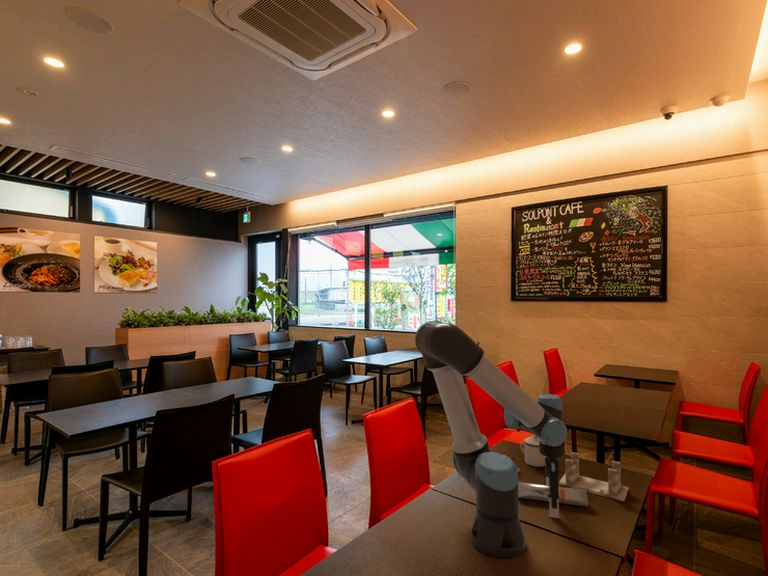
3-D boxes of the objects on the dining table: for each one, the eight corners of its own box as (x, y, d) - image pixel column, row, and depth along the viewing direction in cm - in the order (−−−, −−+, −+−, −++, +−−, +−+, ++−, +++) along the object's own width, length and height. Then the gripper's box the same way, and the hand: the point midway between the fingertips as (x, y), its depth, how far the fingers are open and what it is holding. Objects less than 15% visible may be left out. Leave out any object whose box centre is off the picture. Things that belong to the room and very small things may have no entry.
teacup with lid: (552, 464, 169) (551, 435, 169) (538, 469, 164) (537, 440, 164) (527, 454, 179) (527, 428, 179) (514, 459, 174) (513, 432, 174)
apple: (520, 475, 159) (520, 458, 159) (499, 474, 161) (499, 457, 161) (518, 467, 167) (517, 451, 167) (497, 465, 168) (497, 449, 169)
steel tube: (517, 485, 140) (517, 479, 145) (517, 500, 140) (517, 493, 145) (587, 494, 133) (585, 487, 138) (588, 509, 133) (585, 502, 138)
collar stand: (559, 484, 151) (558, 458, 151) (566, 474, 159) (565, 450, 159) (624, 501, 138) (623, 473, 138) (628, 490, 146) (627, 463, 146)
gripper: (567, 457, 123) (569, 528, 122) (559, 431, 146) (560, 490, 146) (541, 455, 125) (542, 524, 125) (537, 429, 149) (538, 487, 148)
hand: (552, 506), depth 135 cm, fingers open, 13 cm apart
